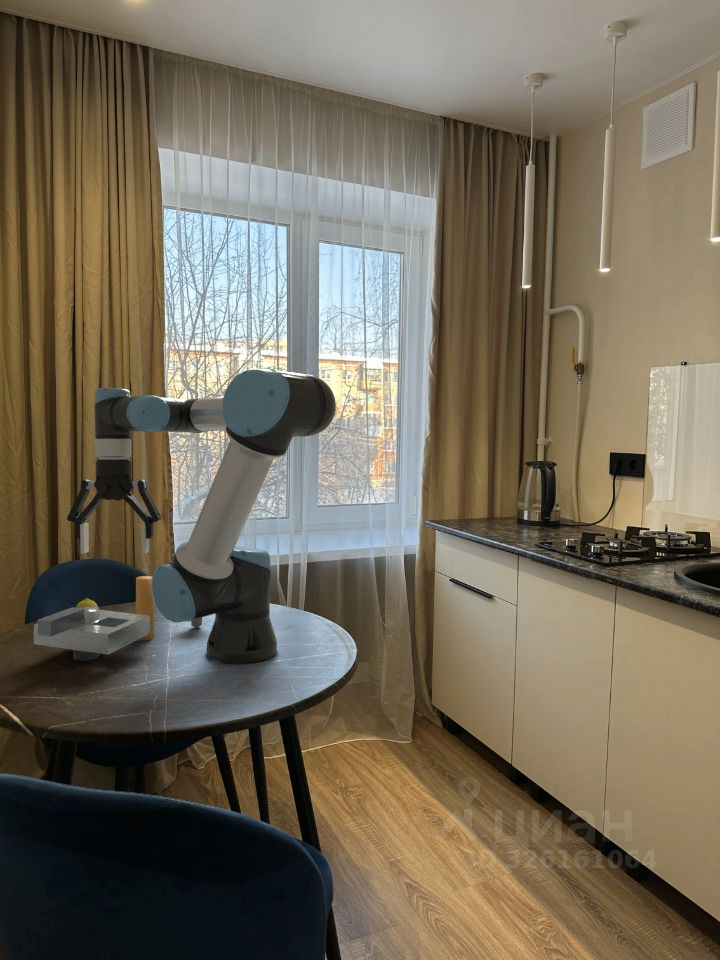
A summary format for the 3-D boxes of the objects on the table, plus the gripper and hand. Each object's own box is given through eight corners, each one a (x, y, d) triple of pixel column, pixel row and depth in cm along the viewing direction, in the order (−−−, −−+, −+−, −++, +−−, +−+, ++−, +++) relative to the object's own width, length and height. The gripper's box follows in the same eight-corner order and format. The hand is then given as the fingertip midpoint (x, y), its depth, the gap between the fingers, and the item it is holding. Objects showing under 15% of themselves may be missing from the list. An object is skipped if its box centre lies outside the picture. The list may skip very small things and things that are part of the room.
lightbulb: (178, 629, 159) (178, 584, 158) (193, 622, 164) (194, 579, 163) (199, 633, 156) (200, 587, 155) (214, 626, 162) (215, 582, 161)
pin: (157, 636, 153) (158, 576, 152) (147, 641, 149) (147, 580, 148) (142, 634, 154) (142, 575, 153) (132, 639, 150) (132, 579, 149)
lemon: (90, 636, 151) (90, 602, 151) (68, 634, 153) (68, 600, 152) (104, 629, 157) (104, 596, 156) (83, 627, 158) (83, 594, 157)
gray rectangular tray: (149, 652, 142) (149, 602, 141) (90, 683, 124) (90, 626, 123) (81, 642, 147) (80, 594, 146) (14, 671, 129) (14, 616, 128)
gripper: (174, 458, 150) (175, 550, 152) (65, 457, 150) (66, 549, 151) (164, 459, 143) (165, 555, 144) (49, 458, 143) (51, 555, 144)
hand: (115, 553), depth 148 cm, fingers open, 13 cm apart
